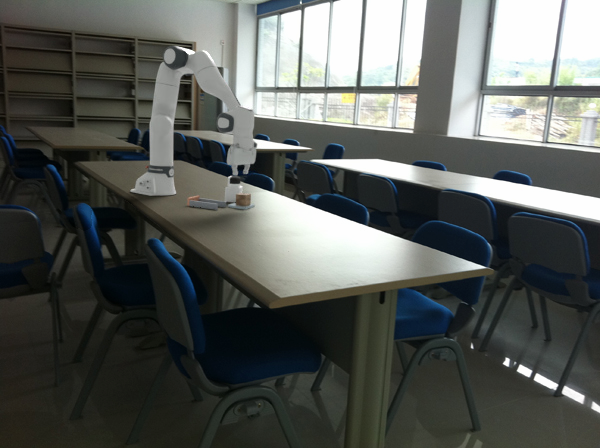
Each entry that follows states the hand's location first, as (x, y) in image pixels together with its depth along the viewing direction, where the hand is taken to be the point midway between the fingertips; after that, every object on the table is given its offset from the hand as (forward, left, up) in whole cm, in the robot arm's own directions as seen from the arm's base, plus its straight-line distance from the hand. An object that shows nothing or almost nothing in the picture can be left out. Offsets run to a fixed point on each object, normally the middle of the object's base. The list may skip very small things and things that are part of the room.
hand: (240, 174), depth 233 cm
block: (+1, +1, -14) cm, 14 cm away
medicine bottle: (-9, +12, -15) cm, 21 cm away
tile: (+1, +1, -15) cm, 15 cm away
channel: (-11, -8, -15) cm, 20 cm away
